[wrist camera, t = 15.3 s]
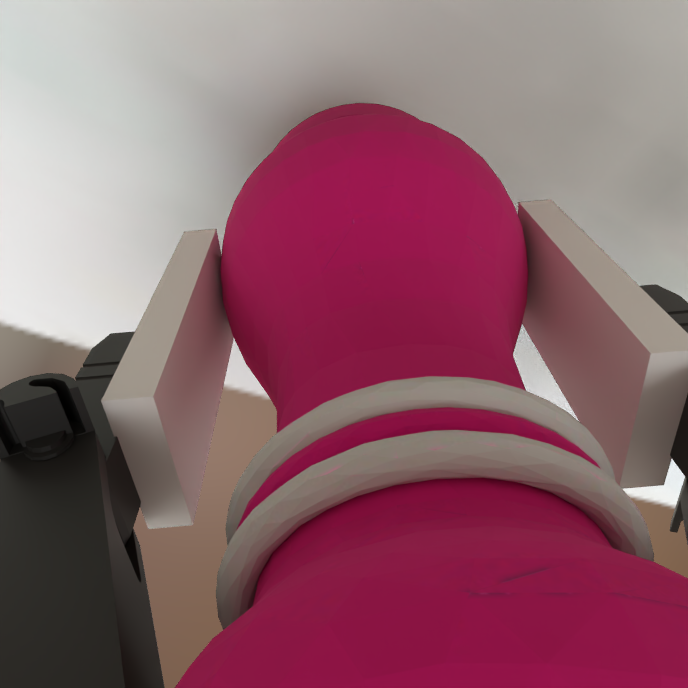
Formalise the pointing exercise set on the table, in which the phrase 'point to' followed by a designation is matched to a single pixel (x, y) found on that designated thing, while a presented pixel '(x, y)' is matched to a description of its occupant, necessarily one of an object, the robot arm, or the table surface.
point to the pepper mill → (414, 443)
